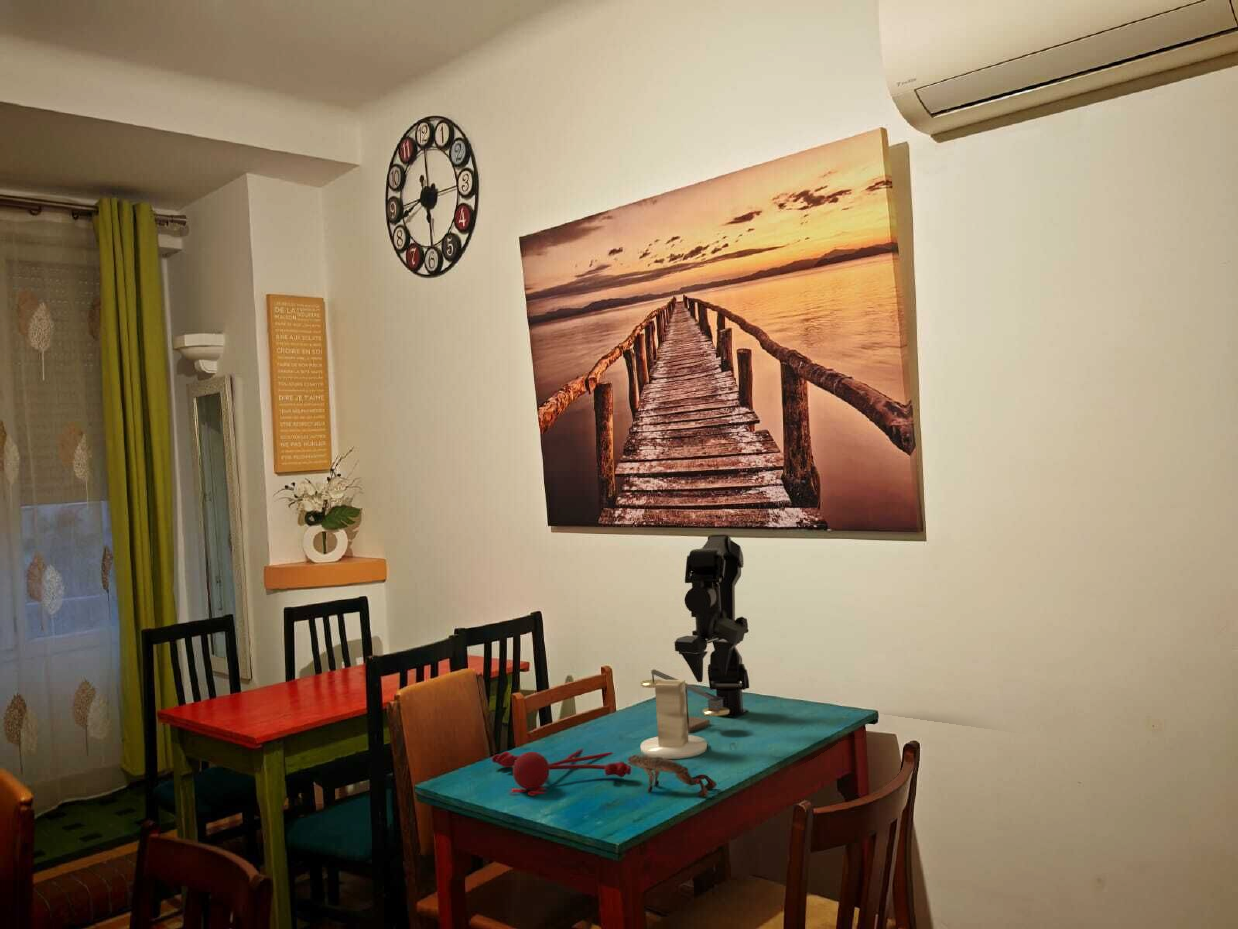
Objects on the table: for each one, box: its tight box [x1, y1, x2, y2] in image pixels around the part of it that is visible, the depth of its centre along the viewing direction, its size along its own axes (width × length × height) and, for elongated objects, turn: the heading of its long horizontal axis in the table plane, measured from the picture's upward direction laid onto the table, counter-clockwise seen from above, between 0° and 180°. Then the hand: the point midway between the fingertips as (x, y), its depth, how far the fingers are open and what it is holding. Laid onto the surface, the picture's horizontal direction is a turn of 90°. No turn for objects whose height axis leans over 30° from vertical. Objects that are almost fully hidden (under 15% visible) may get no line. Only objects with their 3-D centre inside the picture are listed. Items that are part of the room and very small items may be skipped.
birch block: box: [654, 679, 689, 747], centre depth 217 cm, size 5×5×13 cm
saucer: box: [640, 734, 708, 760], centre depth 217 cm, size 14×14×1 cm
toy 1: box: [491, 748, 632, 796], centre depth 206 cm, size 32×8×30 cm
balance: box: [640, 669, 729, 734], centre depth 235 cm, size 8×23×12 cm, turn 50°
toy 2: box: [627, 754, 717, 798], centre depth 191 cm, size 6×9×16 cm
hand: (712, 677), depth 225 cm, fingers open, 9 cm apart
